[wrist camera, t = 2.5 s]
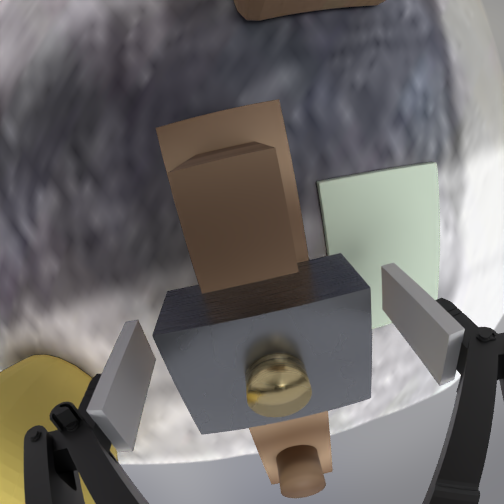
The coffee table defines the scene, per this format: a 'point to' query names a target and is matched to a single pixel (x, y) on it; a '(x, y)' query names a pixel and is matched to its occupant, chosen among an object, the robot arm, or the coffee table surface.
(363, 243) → the felt mat
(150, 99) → the coffee table surface
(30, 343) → the coffee table surface
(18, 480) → the vase
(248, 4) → the wooden block
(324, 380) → the lever cap
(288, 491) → the body
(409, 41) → the coffee table surface
